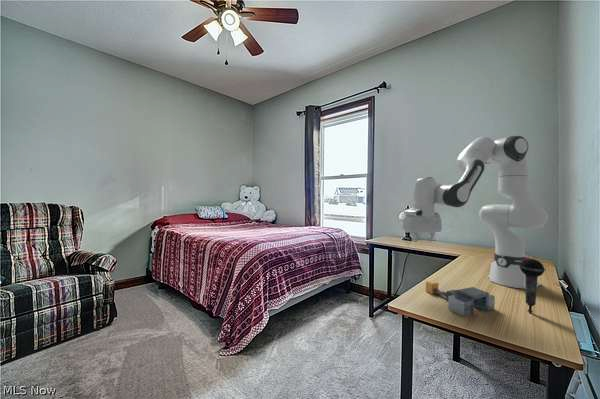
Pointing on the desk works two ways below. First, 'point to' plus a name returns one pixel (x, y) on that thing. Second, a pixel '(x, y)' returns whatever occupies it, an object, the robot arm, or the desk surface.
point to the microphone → (531, 279)
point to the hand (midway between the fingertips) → (422, 241)
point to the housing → (470, 301)
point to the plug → (433, 288)
